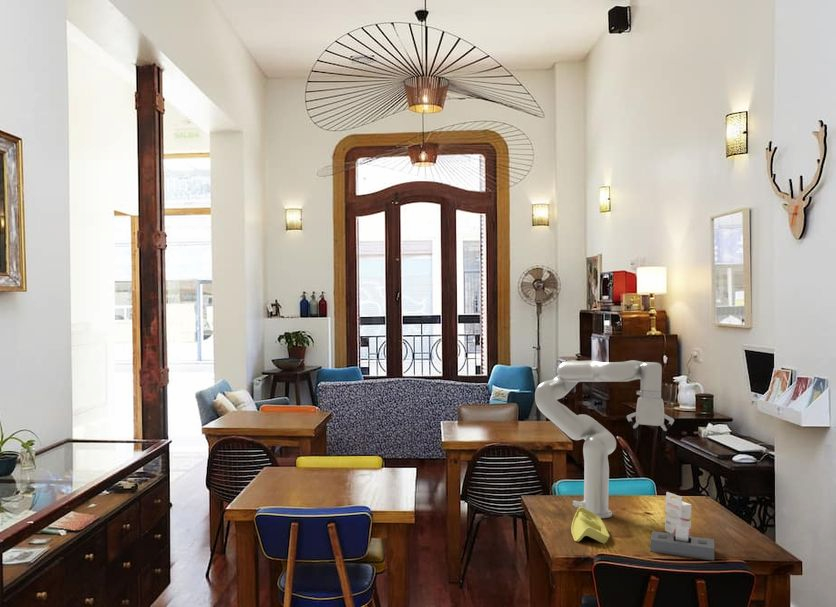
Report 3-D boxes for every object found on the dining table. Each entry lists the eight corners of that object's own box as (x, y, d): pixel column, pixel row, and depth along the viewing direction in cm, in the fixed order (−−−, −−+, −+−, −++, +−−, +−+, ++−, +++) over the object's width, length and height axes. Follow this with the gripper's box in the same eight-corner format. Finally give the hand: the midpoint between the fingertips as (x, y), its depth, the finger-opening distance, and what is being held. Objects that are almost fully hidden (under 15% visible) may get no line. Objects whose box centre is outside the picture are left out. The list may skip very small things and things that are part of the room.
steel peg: (675, 552, 239) (675, 528, 239) (676, 548, 243) (676, 525, 242) (687, 554, 237) (688, 530, 237) (688, 550, 241) (689, 527, 241)
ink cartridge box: (691, 536, 255) (692, 496, 255) (681, 538, 253) (682, 497, 253) (674, 529, 263) (675, 490, 263) (664, 530, 261) (665, 491, 261)
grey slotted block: (650, 551, 239) (650, 539, 239) (652, 542, 248) (652, 530, 248) (714, 560, 231) (714, 548, 231) (713, 550, 241) (714, 539, 241)
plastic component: (611, 538, 245) (585, 525, 245) (600, 556, 246) (575, 543, 246) (600, 516, 265) (576, 504, 265) (591, 533, 265) (567, 521, 266)
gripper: (626, 394, 268) (625, 439, 268) (674, 397, 262) (673, 443, 262) (628, 392, 275) (627, 435, 275) (675, 395, 269) (674, 439, 269)
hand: (649, 439), depth 269 cm, fingers open, 9 cm apart
